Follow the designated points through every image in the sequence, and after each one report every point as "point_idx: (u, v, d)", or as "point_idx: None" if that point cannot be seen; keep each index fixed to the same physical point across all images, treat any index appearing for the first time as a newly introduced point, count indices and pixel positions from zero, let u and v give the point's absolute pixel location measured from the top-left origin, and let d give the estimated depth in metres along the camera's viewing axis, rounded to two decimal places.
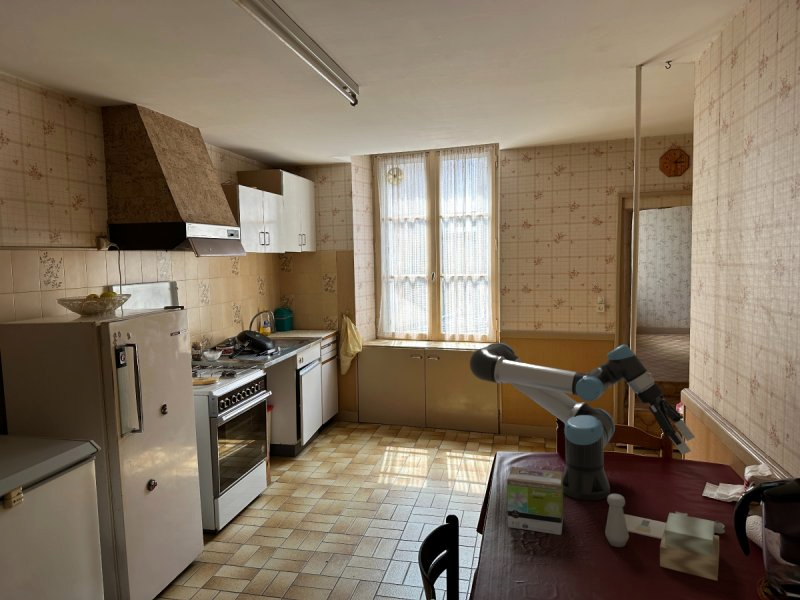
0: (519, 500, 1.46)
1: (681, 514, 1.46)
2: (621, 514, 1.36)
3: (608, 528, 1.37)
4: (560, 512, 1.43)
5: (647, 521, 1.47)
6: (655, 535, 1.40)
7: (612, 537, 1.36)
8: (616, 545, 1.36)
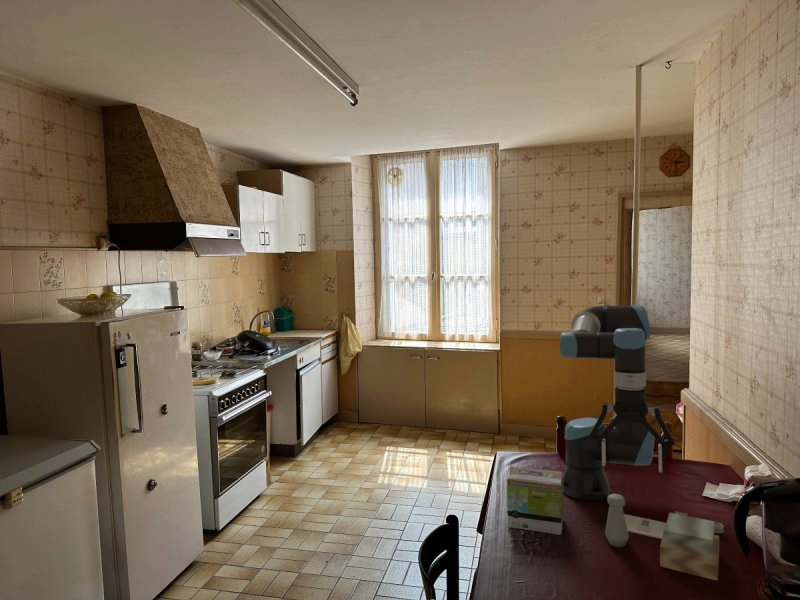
0: (520, 500, 1.46)
1: (680, 514, 1.46)
2: (621, 514, 1.36)
3: (608, 528, 1.37)
4: (560, 512, 1.43)
5: (647, 521, 1.47)
6: (655, 535, 1.40)
7: (612, 537, 1.36)
8: (616, 545, 1.36)
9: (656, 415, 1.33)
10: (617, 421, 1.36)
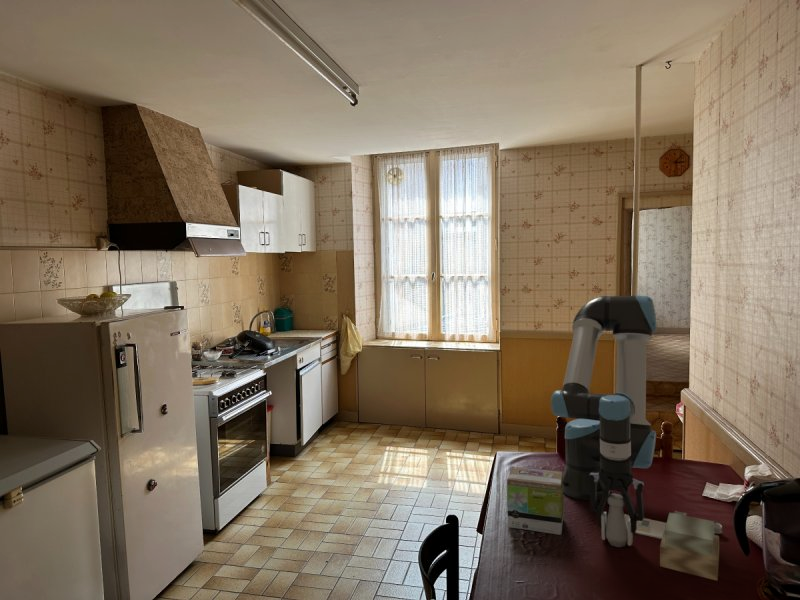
0: (519, 500, 1.46)
1: (680, 513, 1.46)
2: (621, 514, 1.36)
3: (608, 528, 1.37)
4: (560, 512, 1.43)
5: (647, 521, 1.47)
6: (655, 535, 1.40)
7: (612, 537, 1.36)
8: (616, 545, 1.36)
9: (637, 490, 1.33)
10: (606, 491, 1.37)
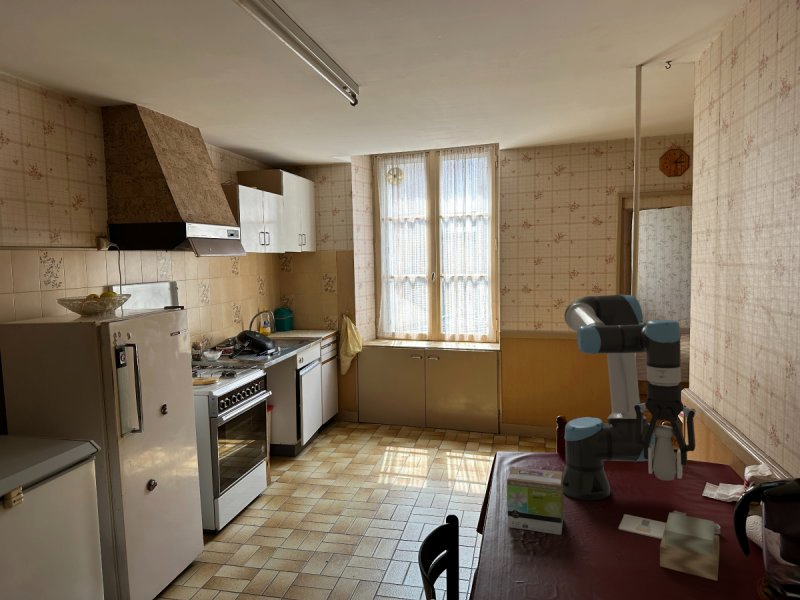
0: (519, 500, 1.46)
1: (679, 513, 1.47)
2: (670, 445, 1.28)
3: (655, 461, 1.29)
4: (560, 512, 1.43)
5: (647, 521, 1.47)
6: (655, 535, 1.40)
7: (661, 469, 1.27)
8: (664, 478, 1.28)
9: (688, 417, 1.25)
10: (654, 420, 1.29)
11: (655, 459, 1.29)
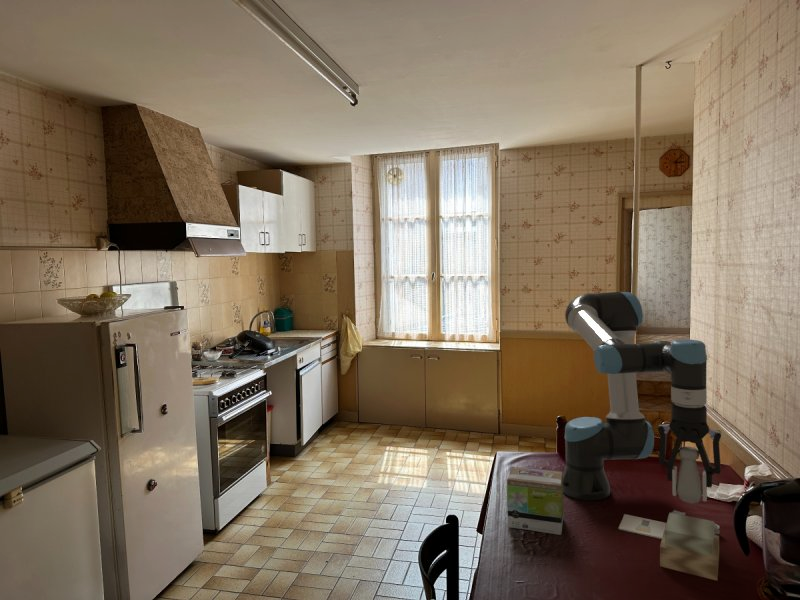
0: (519, 500, 1.46)
1: (678, 513, 1.47)
2: (695, 467, 1.25)
3: (680, 483, 1.27)
4: (560, 512, 1.43)
5: (647, 521, 1.47)
6: (655, 535, 1.40)
7: (686, 492, 1.25)
8: (689, 501, 1.26)
9: (715, 439, 1.22)
10: (679, 442, 1.26)
11: (680, 481, 1.27)
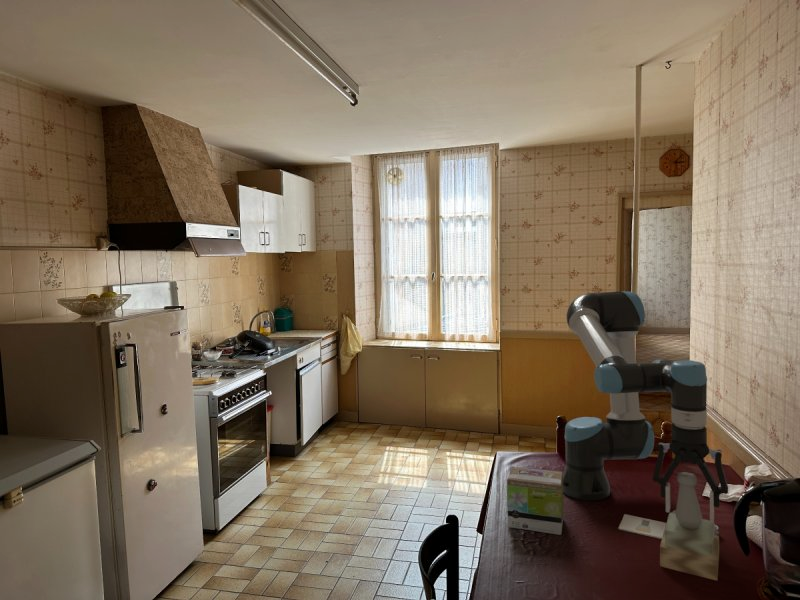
0: (519, 500, 1.46)
1: None
2: (694, 493, 1.26)
3: (679, 509, 1.27)
4: (560, 512, 1.43)
5: (647, 521, 1.47)
6: (655, 535, 1.40)
7: (685, 518, 1.26)
8: (689, 527, 1.26)
9: (716, 459, 1.23)
10: (676, 462, 1.27)
11: (679, 507, 1.28)
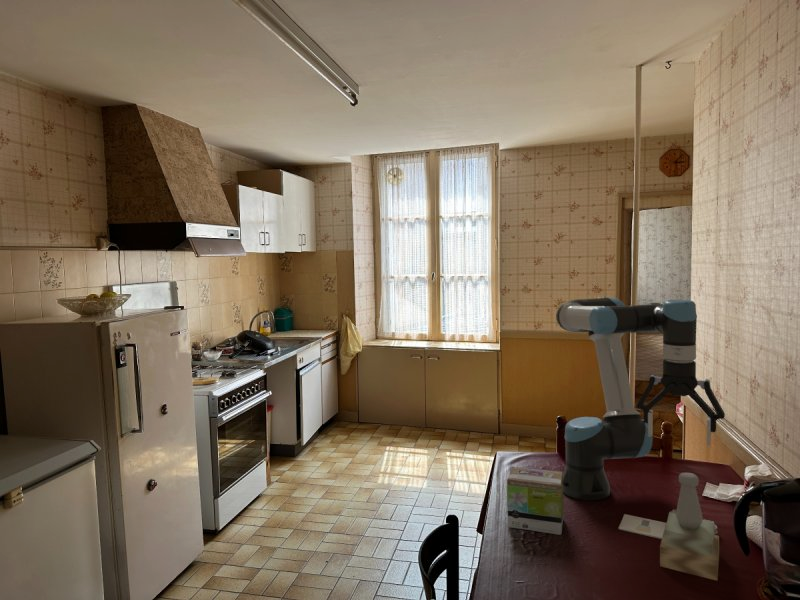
0: (520, 500, 1.46)
1: None
2: (695, 494, 1.26)
3: (680, 509, 1.27)
4: (560, 512, 1.43)
5: (647, 521, 1.47)
6: (655, 535, 1.40)
7: (686, 519, 1.26)
8: (689, 527, 1.26)
9: (705, 388, 1.30)
10: (664, 393, 1.35)
11: (679, 507, 1.28)
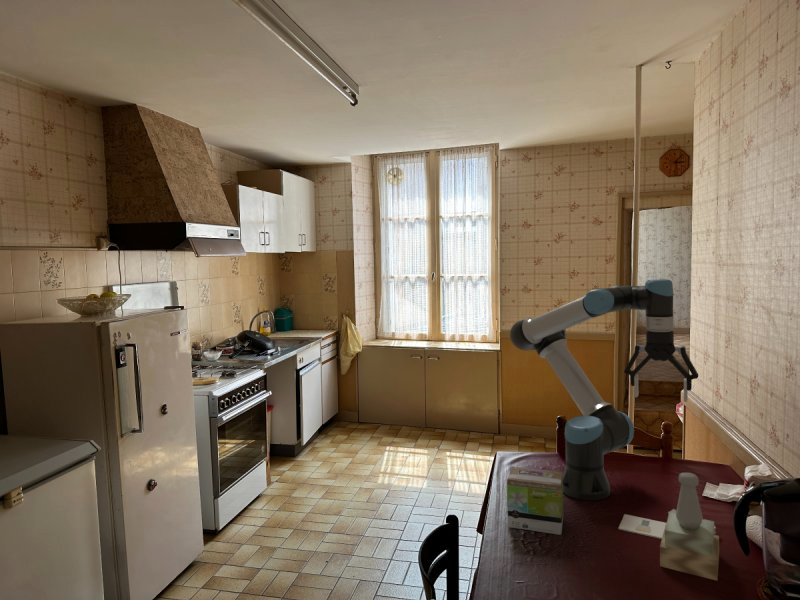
0: (519, 500, 1.46)
1: None
2: (695, 494, 1.26)
3: (680, 509, 1.27)
4: (560, 512, 1.43)
5: (647, 521, 1.47)
6: (655, 535, 1.40)
7: (686, 519, 1.26)
8: (689, 527, 1.26)
9: (682, 353, 1.54)
10: (647, 359, 1.59)
11: (679, 507, 1.28)
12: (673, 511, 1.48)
